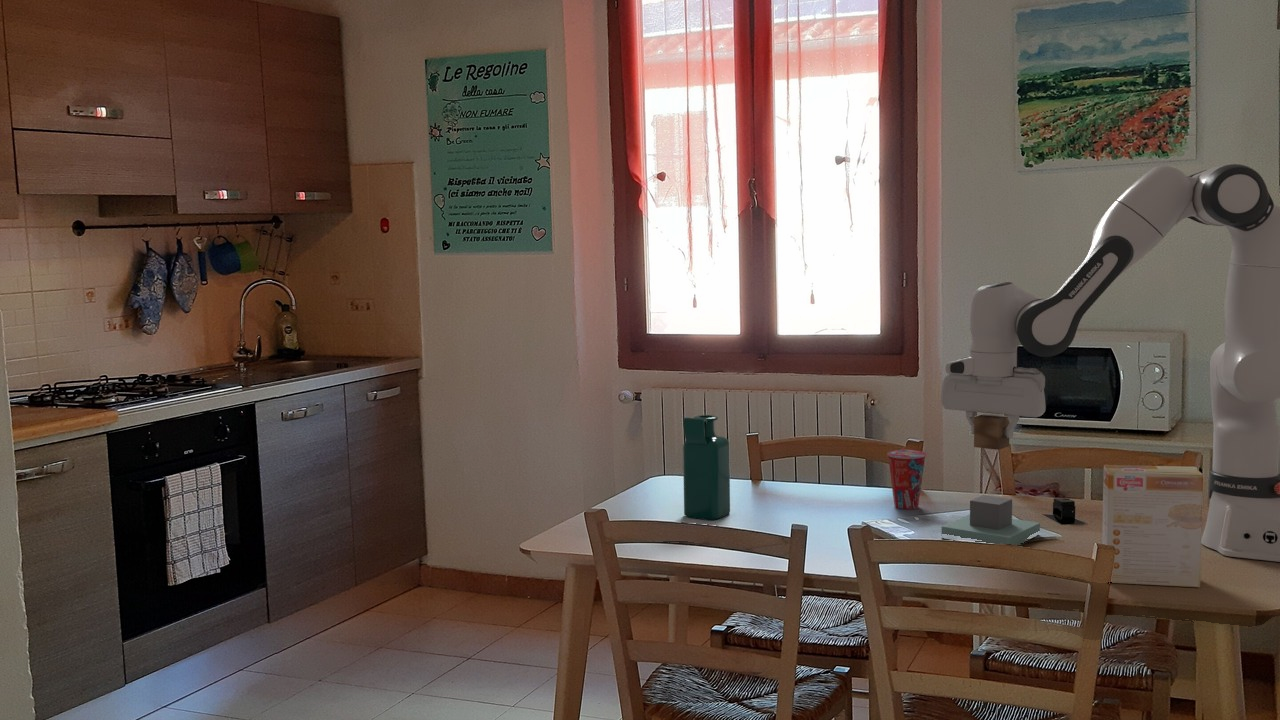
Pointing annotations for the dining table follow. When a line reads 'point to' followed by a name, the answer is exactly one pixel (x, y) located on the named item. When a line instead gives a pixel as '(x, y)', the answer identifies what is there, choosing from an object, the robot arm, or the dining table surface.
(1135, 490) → the coffeecake box
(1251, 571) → the dining table surface
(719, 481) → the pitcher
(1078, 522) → the black rectangular block
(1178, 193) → the robot arm
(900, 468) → the cup
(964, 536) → the base slab
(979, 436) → the walnut block
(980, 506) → the charcoal block
